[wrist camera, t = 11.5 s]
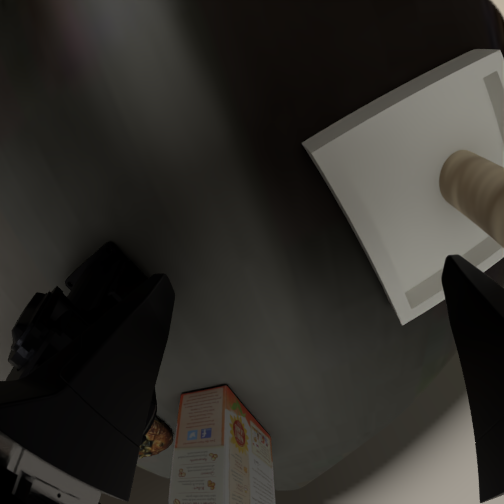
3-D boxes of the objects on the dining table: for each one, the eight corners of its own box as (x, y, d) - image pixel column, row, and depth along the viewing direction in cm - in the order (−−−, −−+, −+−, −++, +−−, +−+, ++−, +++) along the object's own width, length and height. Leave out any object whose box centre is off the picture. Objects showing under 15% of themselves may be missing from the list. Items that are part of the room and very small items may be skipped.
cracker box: (177, 392, 31) (158, 577, 13) (227, 381, 31) (228, 584, 12) (230, 443, 38) (231, 581, 20) (272, 436, 37) (283, 579, 19)
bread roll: (175, 448, 39) (167, 476, 35) (105, 426, 39) (94, 451, 35) (175, 410, 34) (165, 443, 30) (93, 383, 34) (77, 412, 30)
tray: (389, 302, 26) (402, 325, 23) (301, 142, 19) (311, 153, 17) (518, 214, 22) (537, 228, 19) (474, 49, 15) (500, 49, 12)
